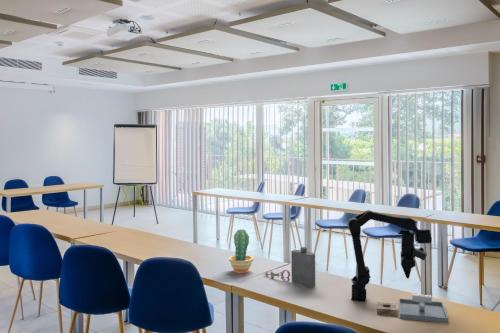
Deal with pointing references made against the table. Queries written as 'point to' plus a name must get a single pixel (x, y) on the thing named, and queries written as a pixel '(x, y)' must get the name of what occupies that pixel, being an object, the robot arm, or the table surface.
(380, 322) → the table surface
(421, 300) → the gray rectangular block
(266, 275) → the decorative key
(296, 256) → the flask
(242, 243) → the potted cactus
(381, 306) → the socket block
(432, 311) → the tray
